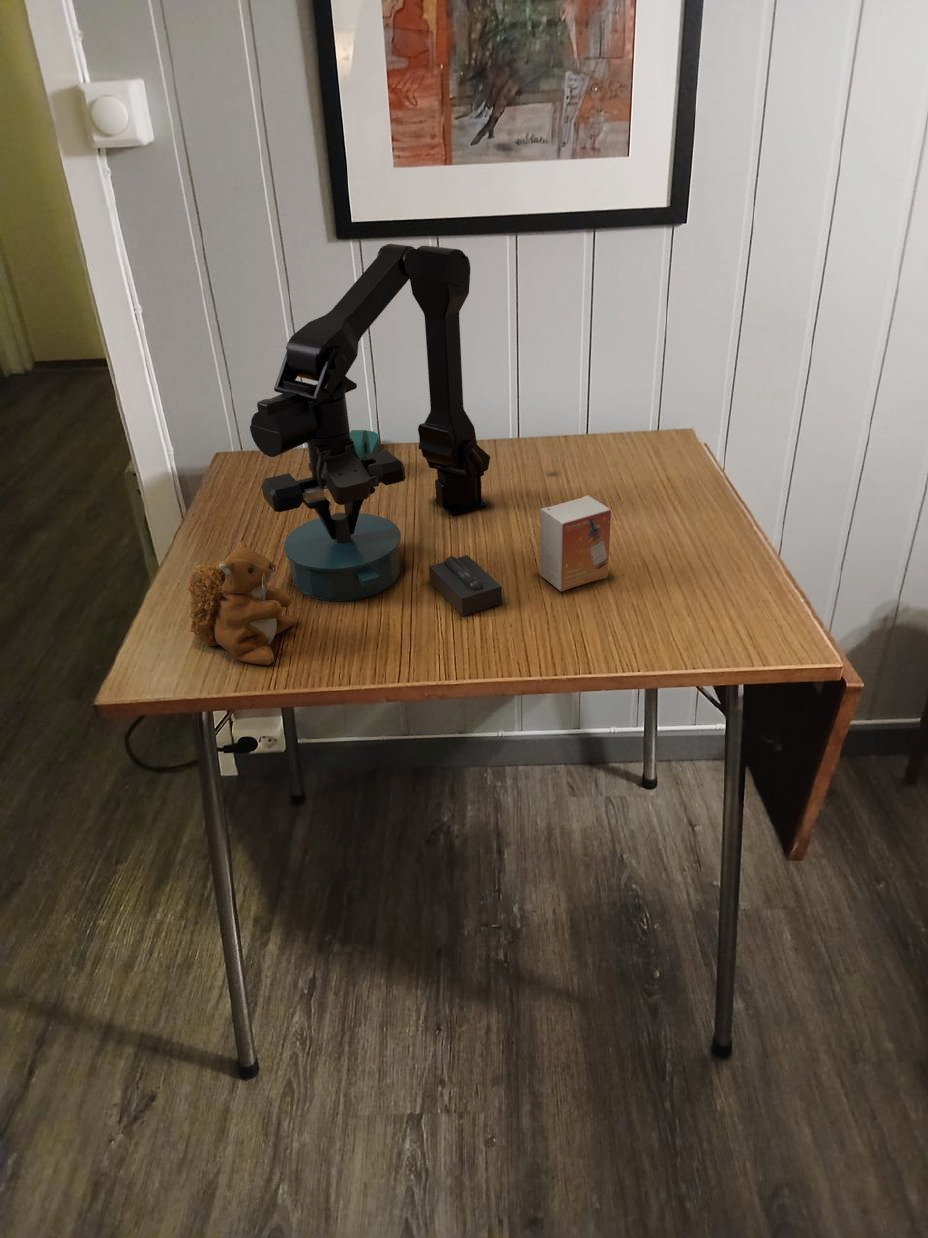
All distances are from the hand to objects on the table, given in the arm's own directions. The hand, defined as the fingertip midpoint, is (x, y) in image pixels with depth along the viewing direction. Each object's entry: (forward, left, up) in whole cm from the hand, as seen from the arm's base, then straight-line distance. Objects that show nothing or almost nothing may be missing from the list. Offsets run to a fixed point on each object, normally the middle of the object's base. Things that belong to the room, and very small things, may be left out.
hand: (341, 535), depth 130 cm
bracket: (-16, -37, -6) cm, 41 cm away
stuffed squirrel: (+18, +9, -6) cm, 21 cm away
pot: (0, 0, -6) cm, 6 cm away
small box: (-27, +18, -6) cm, 33 cm away
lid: (0, 0, -1) cm, 1 cm away
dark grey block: (-12, +14, -6) cm, 19 cm away
